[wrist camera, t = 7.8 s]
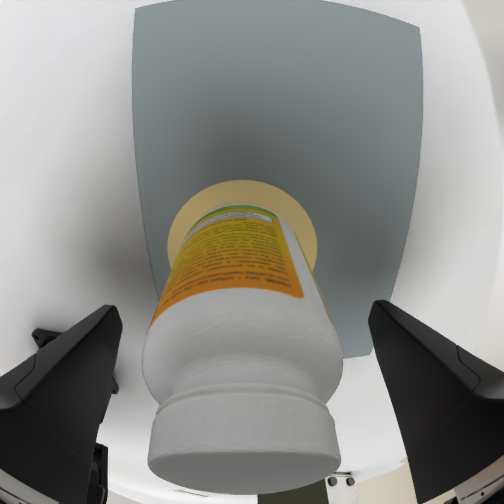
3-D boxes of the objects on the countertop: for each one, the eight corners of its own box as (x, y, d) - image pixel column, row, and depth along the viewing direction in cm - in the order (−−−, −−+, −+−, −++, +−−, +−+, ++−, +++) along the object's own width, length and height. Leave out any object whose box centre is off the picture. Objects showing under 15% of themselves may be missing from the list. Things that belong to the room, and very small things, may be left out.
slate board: (178, 355, 17) (175, 366, 16) (141, 13, 8) (134, 7, 7) (366, 346, 17) (370, 356, 17) (411, 30, 8) (420, 26, 7)
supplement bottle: (160, 258, 13) (81, 456, 4) (238, 173, 11) (228, 387, 2) (243, 319, 14) (248, 504, 6) (322, 254, 13) (410, 450, 4)
